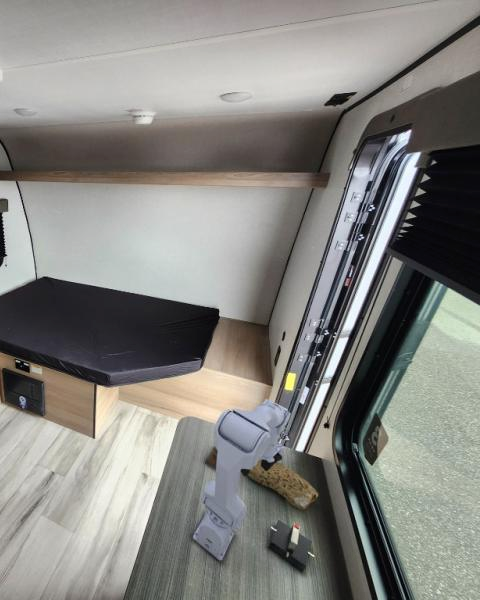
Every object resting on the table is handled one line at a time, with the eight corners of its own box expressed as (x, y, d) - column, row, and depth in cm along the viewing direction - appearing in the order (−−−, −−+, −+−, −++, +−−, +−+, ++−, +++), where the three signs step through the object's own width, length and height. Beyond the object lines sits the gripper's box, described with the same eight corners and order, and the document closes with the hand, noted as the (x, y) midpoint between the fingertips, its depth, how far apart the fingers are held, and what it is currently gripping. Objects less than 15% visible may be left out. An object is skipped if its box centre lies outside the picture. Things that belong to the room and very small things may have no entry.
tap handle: (293, 552, 81) (297, 544, 79) (286, 549, 82) (291, 540, 80) (296, 534, 85) (300, 525, 84) (290, 530, 86) (294, 521, 85)
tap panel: (306, 580, 78) (310, 573, 77) (262, 548, 84) (265, 541, 83) (313, 548, 85) (317, 541, 84) (272, 520, 91) (275, 513, 90)
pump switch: (225, 476, 104) (228, 468, 103) (205, 463, 109) (207, 455, 107) (236, 458, 111) (238, 451, 110) (216, 446, 115) (218, 439, 114)
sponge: (313, 500, 99) (257, 447, 112) (325, 490, 94) (265, 436, 107) (288, 525, 94) (233, 466, 107) (299, 516, 89) (240, 456, 102)
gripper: (255, 454, 84) (243, 488, 90) (297, 444, 88) (283, 477, 93) (237, 434, 91) (227, 467, 96) (277, 426, 94) (265, 458, 100)
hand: (253, 470), depth 95 cm, fingers open, 7 cm apart
